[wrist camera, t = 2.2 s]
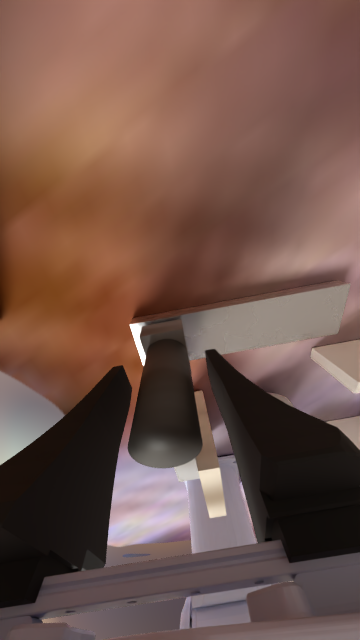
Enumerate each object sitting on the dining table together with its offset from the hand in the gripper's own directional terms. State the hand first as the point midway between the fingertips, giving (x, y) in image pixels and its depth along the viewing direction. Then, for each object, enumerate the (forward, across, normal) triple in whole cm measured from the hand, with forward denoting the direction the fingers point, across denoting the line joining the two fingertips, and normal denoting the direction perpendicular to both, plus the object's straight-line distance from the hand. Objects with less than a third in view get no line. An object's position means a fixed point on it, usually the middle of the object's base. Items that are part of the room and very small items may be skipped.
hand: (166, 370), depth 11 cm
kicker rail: (+4, -6, 0) cm, 8 cm away
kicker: (+4, 0, +7) cm, 8 cm away
